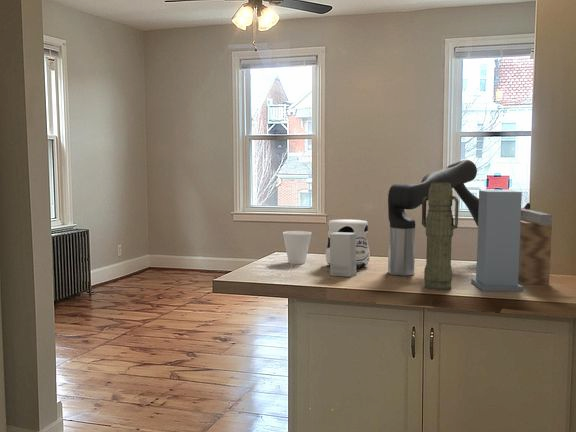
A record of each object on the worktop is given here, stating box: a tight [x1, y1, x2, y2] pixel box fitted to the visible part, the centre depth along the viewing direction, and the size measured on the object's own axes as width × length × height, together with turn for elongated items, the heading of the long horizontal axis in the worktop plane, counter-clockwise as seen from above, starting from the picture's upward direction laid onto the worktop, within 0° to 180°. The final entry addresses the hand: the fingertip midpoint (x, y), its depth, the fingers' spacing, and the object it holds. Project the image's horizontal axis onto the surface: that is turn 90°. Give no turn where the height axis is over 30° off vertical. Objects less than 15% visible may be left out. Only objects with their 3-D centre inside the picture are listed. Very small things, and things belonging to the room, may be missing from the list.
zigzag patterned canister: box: [518, 220, 553, 285], centre depth 213 cm, size 9×14×21 cm, turn 179°
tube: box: [521, 207, 553, 225], centre depth 212 cm, size 28×4×4 cm, turn 178°
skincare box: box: [329, 232, 357, 278], centre depth 221 cm, size 8×7×16 cm
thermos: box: [421, 182, 460, 291], centre depth 200 cm, size 9×12×35 cm
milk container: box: [325, 218, 371, 269], centre depth 239 cm, size 17×17×18 cm
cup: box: [282, 230, 313, 265], centre depth 247 cm, size 12×12×12 cm
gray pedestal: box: [471, 189, 524, 292], centre depth 201 cm, size 13×13×32 cm
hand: (517, 205), depth 226 cm, fingers open, 8 cm apart
